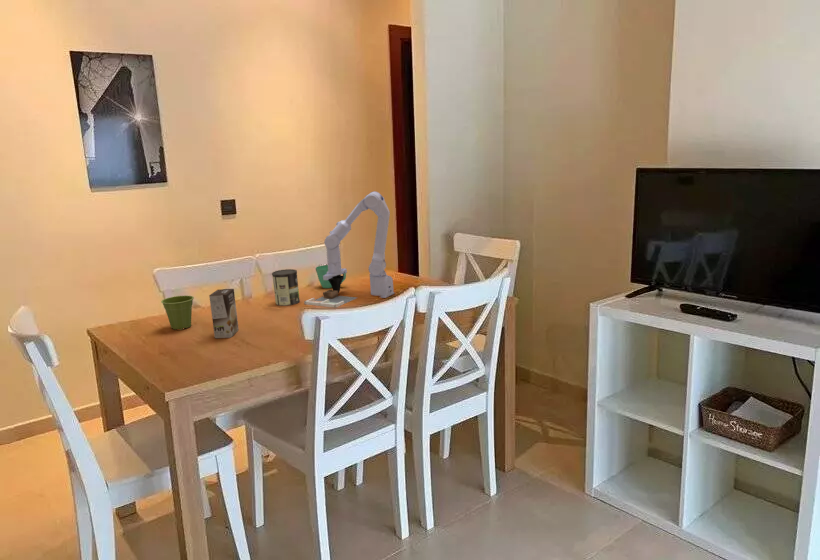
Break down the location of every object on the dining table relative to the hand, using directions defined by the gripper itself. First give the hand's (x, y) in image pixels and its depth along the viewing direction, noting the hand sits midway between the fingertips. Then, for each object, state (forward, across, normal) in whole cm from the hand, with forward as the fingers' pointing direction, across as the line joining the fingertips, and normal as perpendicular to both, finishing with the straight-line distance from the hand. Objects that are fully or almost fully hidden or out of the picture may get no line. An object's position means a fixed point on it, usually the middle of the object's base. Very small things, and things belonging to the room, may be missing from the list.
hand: (336, 292), depth 278 cm
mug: (+2, -11, -10) cm, 15 cm away
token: (+1, +4, 0) cm, 4 cm away
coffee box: (+2, +57, -8) cm, 58 cm away
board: (+2, +9, +4) cm, 10 cm away
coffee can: (+2, +18, -13) cm, 22 cm away
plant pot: (+2, +58, -32) cm, 66 cm away
